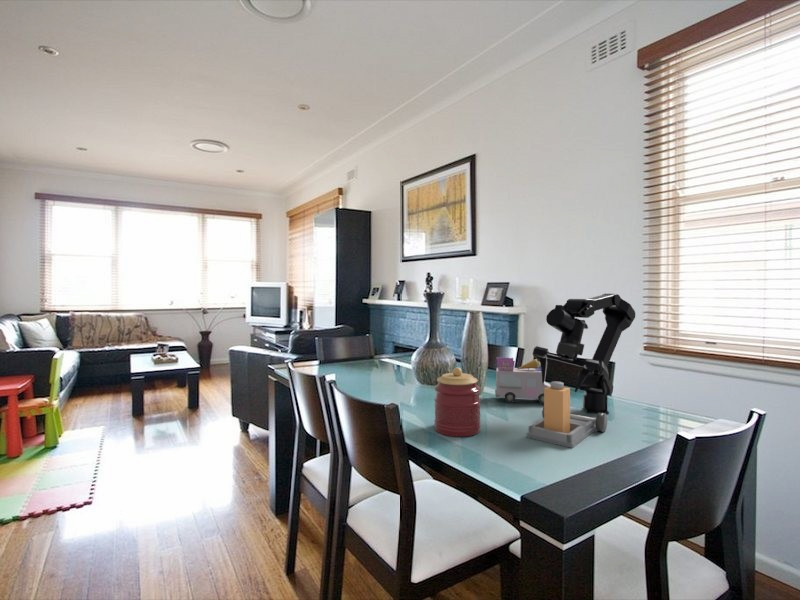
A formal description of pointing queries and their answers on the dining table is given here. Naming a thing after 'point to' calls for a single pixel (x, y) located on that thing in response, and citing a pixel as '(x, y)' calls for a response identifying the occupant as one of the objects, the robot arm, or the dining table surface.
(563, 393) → the block with grey dome
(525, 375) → the toy vehicle
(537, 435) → the chassis
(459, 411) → the canister
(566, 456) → the dining table surface
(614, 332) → the robot arm
